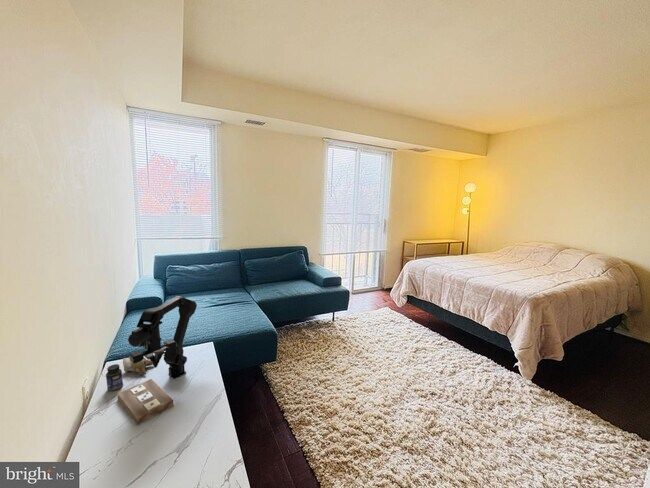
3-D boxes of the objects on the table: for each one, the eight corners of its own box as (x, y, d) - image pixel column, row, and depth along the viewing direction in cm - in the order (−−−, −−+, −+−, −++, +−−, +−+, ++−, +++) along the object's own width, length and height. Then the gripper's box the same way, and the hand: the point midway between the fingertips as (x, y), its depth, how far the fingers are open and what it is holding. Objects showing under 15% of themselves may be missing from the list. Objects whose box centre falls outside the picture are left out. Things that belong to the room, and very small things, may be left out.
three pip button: (149, 397, 130) (148, 390, 130) (153, 401, 127) (153, 395, 126) (137, 403, 126) (136, 396, 126) (141, 408, 123) (140, 401, 123)
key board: (151, 384, 139) (151, 378, 139) (173, 405, 125) (173, 399, 124) (118, 399, 128) (117, 393, 128) (137, 425, 114) (137, 418, 113)
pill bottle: (114, 392, 133) (112, 371, 132) (104, 391, 134) (101, 369, 133) (126, 384, 139) (124, 364, 138) (116, 383, 140) (113, 362, 139)
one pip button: (156, 404, 125) (156, 398, 125) (161, 409, 122) (160, 403, 122) (144, 411, 121) (143, 404, 121) (148, 416, 118) (147, 409, 118)
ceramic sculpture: (129, 350, 155) (157, 351, 155) (130, 364, 156) (157, 366, 157) (115, 360, 144) (145, 362, 145) (116, 376, 146) (145, 378, 146)
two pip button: (142, 390, 135) (142, 383, 134) (146, 394, 132) (146, 388, 131) (130, 395, 131) (130, 389, 131) (134, 400, 128) (133, 393, 127)
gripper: (166, 324, 143) (168, 353, 146) (123, 338, 129) (126, 369, 131) (176, 331, 137) (178, 360, 139) (132, 346, 122) (135, 379, 124)
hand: (155, 367), depth 133 cm, fingers closed
